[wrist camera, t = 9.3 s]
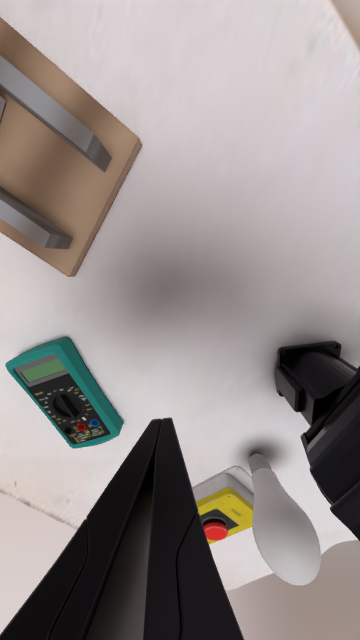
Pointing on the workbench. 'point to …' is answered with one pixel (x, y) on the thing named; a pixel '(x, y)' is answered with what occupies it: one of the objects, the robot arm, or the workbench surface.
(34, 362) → the digital multimeter
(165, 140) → the workbench surface
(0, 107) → the knob carriage
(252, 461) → the lightbulb
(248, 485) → the emergency button
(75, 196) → the knob mount
